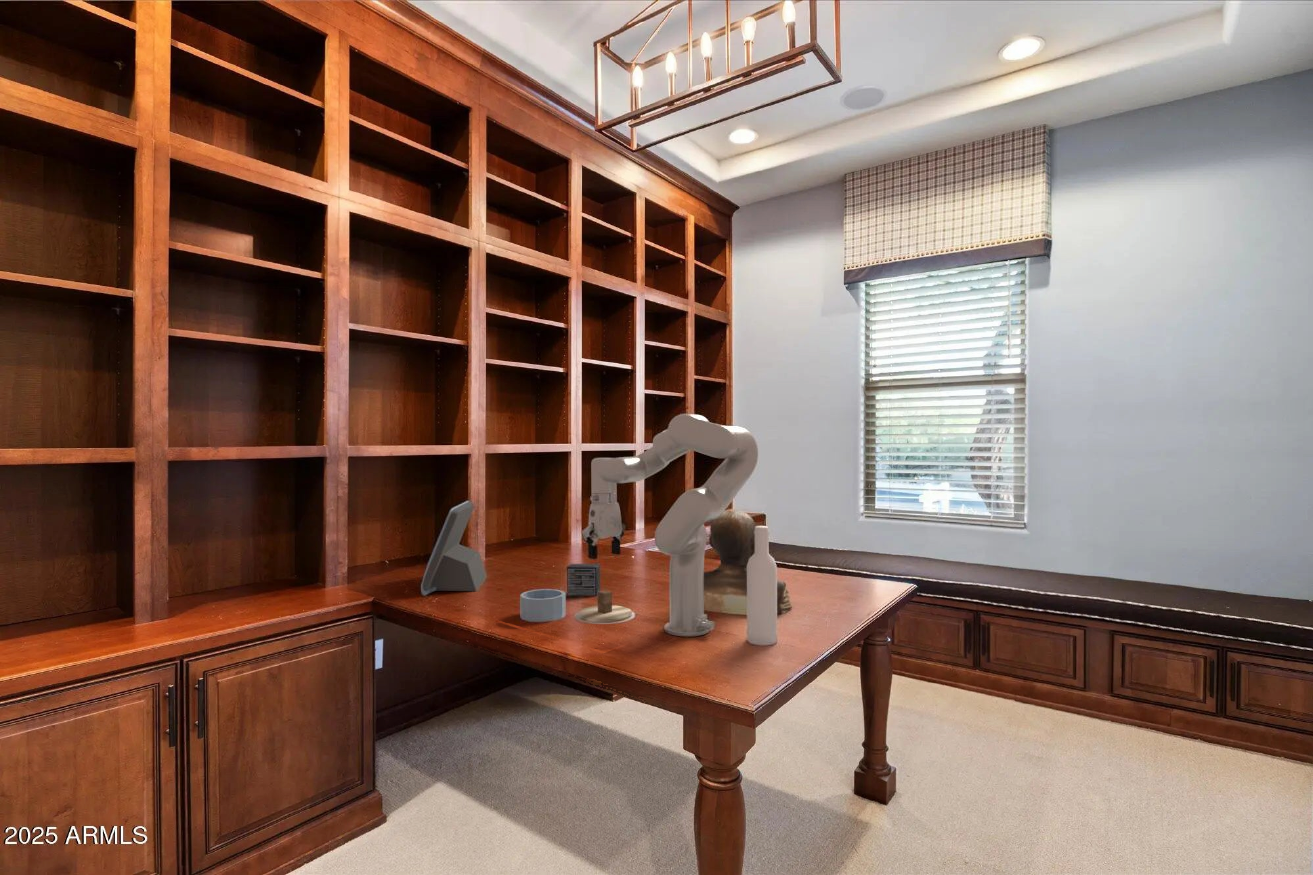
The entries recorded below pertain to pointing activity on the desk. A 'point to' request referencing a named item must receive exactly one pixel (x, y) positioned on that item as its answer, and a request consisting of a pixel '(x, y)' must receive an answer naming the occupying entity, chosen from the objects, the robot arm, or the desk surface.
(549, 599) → the bowl
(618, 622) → the mat
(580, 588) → the small box
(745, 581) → the portrait bust
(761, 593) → the bottle
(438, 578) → the touchscreen device
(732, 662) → the desk surface
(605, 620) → the lid
